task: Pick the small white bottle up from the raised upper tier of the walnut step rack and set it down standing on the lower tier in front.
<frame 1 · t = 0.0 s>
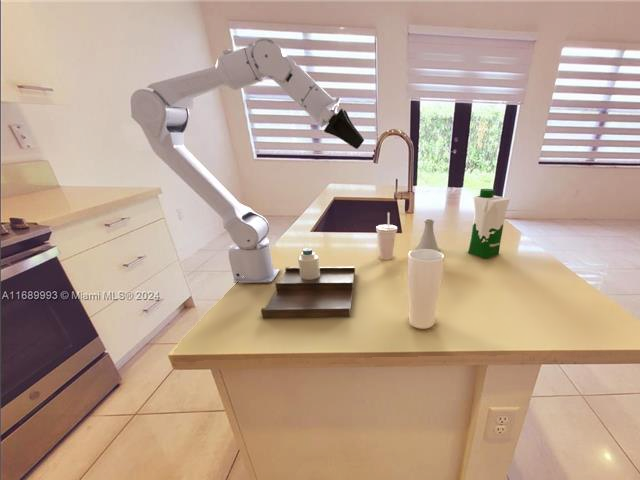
hand: (360, 144, 70), 32 cm above the table, tool tilted 50°, fingers open, 7 cm apart
rack: (315, 293, 75), on the table
milk carton: (483, 254, 103), on the table
flask: (427, 250, 105), on the table
smoothie: (386, 258, 98), on the table
drinking glass: (421, 323, 65), on the table
bottle: (310, 275, 80), point 2 cm above the table, touching rack
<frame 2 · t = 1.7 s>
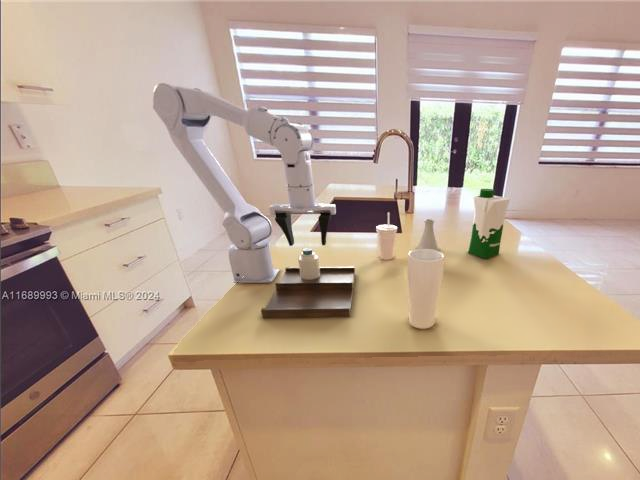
hand: (308, 244, 76), 10 cm above the table, tool pointing down, fingers open, 7 cm apart
nothing on the table moved.
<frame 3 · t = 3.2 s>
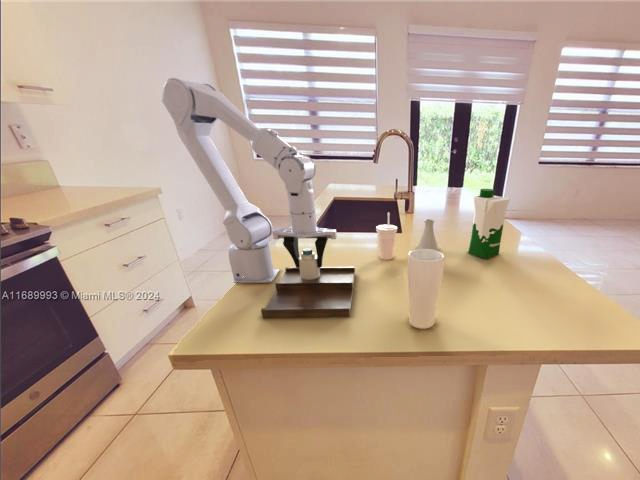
hand: (309, 266, 78), 5 cm above the table, tool pointing down, fingers closed on bottle, 5 cm apart
bottle: (310, 275, 80), point 2 cm above the table, touching gripper, rack
everything else where it was.
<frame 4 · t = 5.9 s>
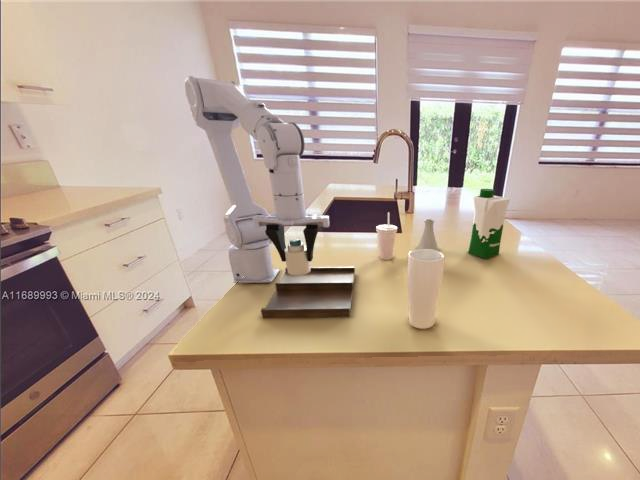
hand: (297, 259, 67), 10 cm above the table, tool pointing down, fingers closed on bottle, 5 cm apart
bottle: (299, 271, 68), point 8 cm above the table, touching gripper
everything else where it was.
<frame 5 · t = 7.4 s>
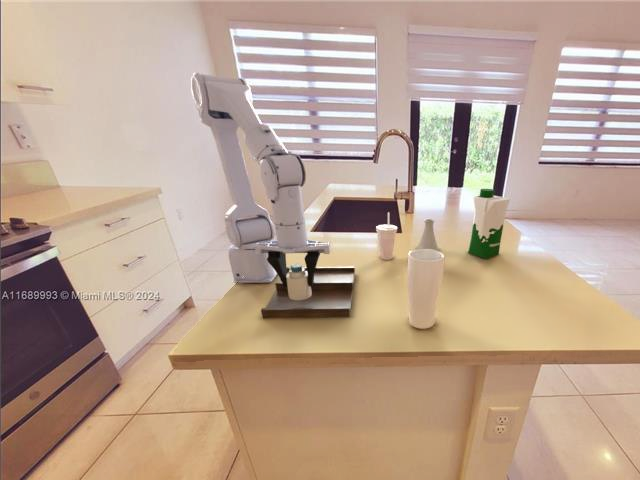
hand: (298, 284, 68), 5 cm above the table, tool pointing down, fingers closed on bottle, 5 cm apart
bottle: (300, 295, 69), point 3 cm above the table, touching gripper
everything else where it was.
when the fingers open (4 cm above the table, at t = 8.5 s): bottle stays where it is, resting on rack.
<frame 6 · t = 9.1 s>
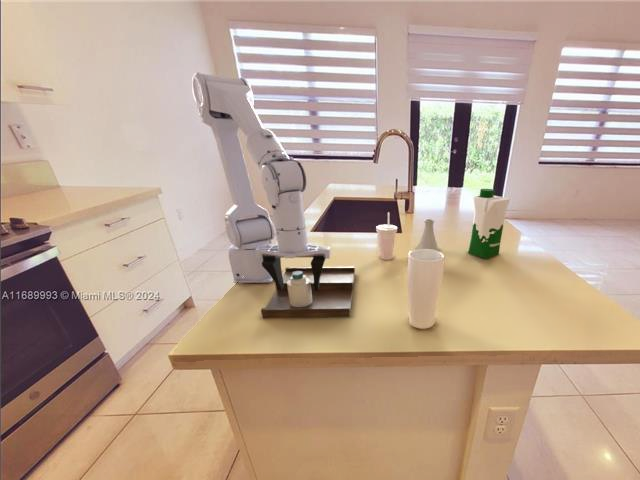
hand: (299, 288, 68), 4 cm above the table, tool pointing down, fingers open, 7 cm apart
bottle: (301, 302, 70), point 1 cm above the table, touching rack
everything else where it was.
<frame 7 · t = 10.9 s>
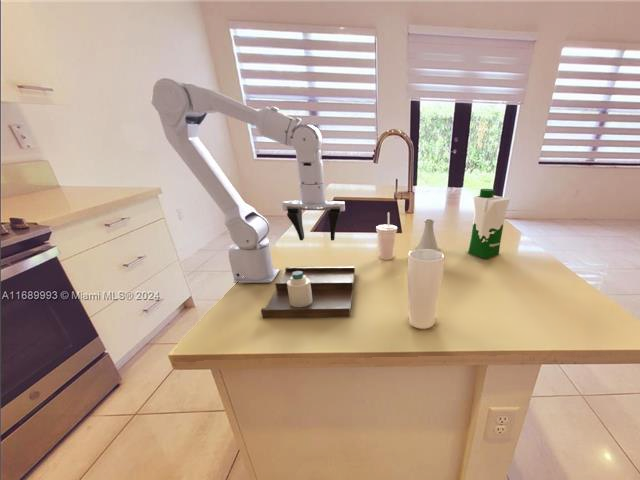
hand: (317, 239, 79), 10 cm above the table, tool pointing down, fingers open, 7 cm apart
nothing on the table moved.
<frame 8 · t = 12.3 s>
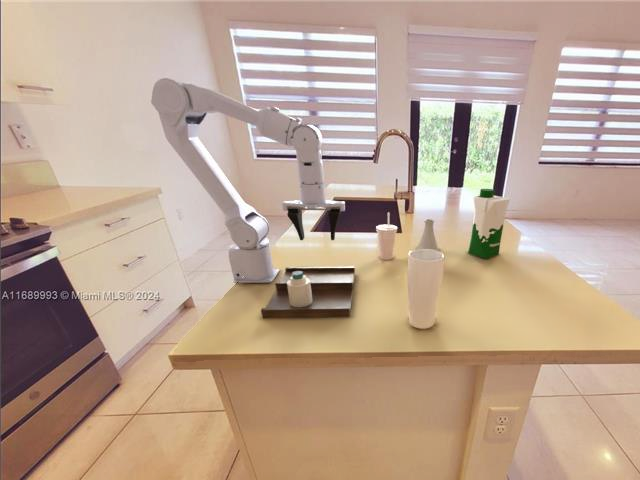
hand: (317, 239, 79), 10 cm above the table, tool pointing down, fingers open, 7 cm apart
nothing on the table moved.
at the end: bottle inside the target area on the rack (2.1 cm from its centre), point 1.0 cm above the rack's base; bottle tilted 0°; the gripper is holding nothing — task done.
